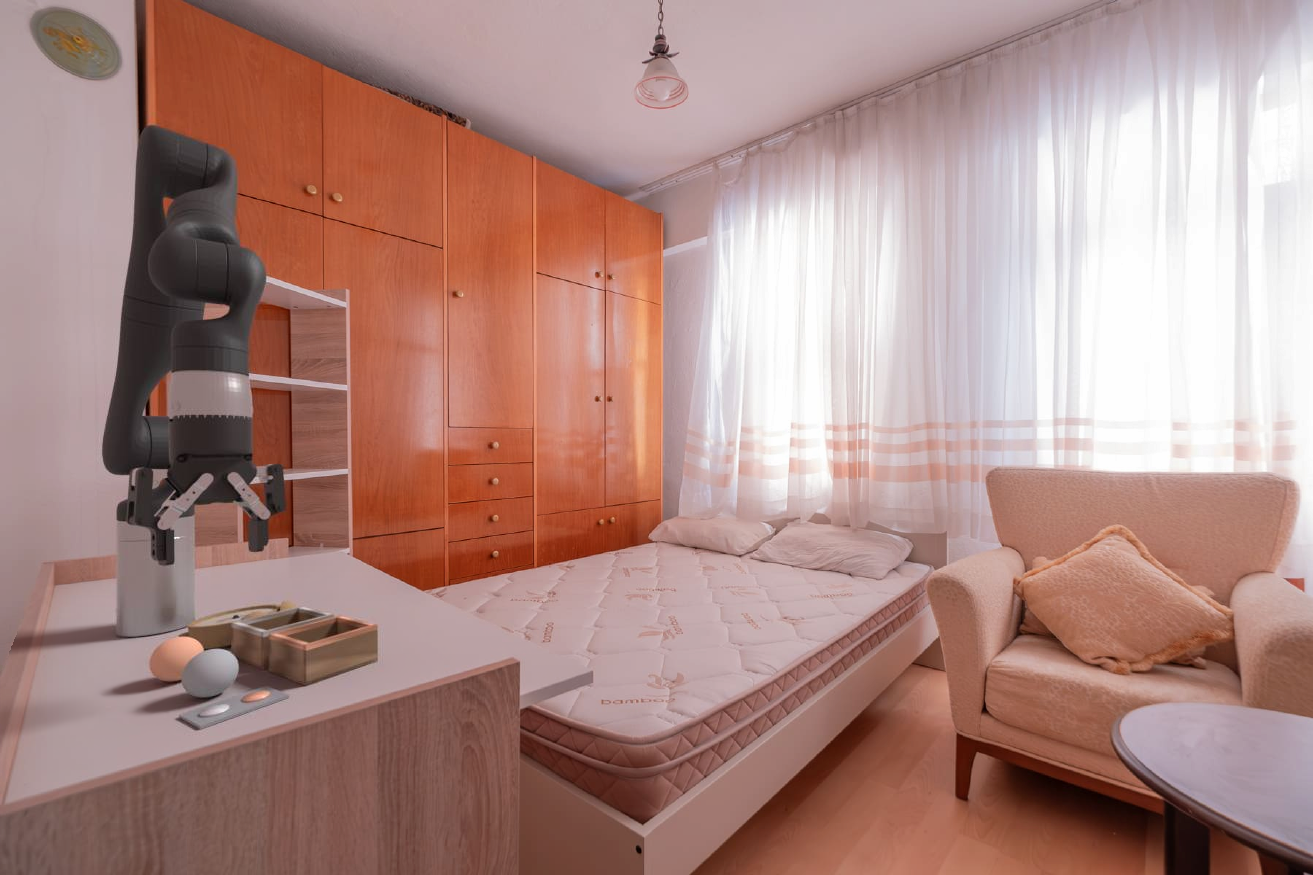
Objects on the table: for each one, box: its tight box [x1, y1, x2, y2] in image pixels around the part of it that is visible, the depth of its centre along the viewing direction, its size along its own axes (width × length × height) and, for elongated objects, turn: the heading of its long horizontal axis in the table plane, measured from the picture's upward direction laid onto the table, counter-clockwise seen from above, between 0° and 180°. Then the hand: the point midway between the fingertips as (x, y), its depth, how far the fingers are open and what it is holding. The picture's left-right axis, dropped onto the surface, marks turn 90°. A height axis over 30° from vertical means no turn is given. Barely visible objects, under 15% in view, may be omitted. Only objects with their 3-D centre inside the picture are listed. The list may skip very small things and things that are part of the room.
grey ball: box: [180, 648, 240, 699], centre depth 63 cm, size 5×5×5 cm
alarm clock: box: [178, 600, 297, 650], centre depth 83 cm, size 11×5×15 cm
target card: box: [178, 685, 290, 730], centre depth 60 cm, size 5×8×1 cm, turn 149°
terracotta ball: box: [148, 636, 205, 683], centre depth 67 cm, size 5×5×5 cm
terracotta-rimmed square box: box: [268, 615, 379, 687], centre depth 71 cm, size 9×9×5 cm
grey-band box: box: [230, 606, 335, 670], centre depth 76 cm, size 9×9×5 cm
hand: (213, 557), depth 64 cm, fingers open, 8 cm apart
